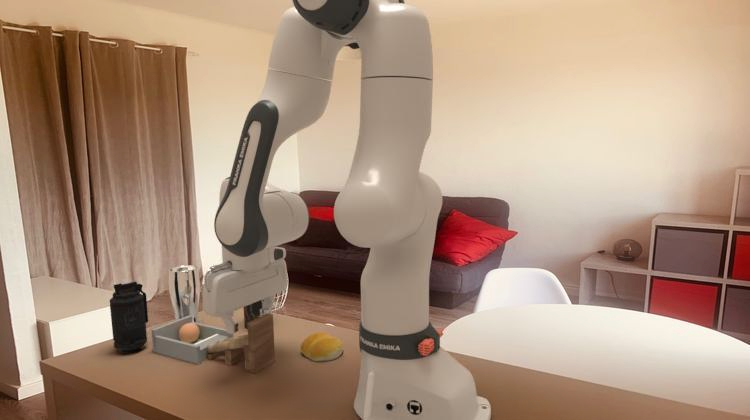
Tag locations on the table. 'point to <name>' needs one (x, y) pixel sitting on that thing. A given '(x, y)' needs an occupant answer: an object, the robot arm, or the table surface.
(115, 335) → the grenade
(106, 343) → the table surface
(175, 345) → the grey tray
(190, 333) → the ball
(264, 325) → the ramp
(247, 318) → the deodorant
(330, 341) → the bread roll
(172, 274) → the beer glass
